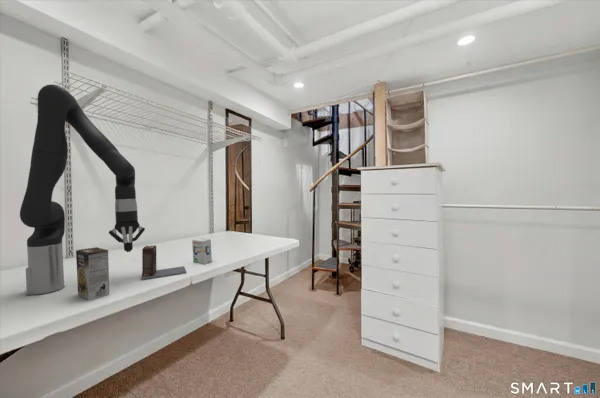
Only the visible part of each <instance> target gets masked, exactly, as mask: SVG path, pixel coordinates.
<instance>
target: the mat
mask: <svg viewBox="0 0 600 398" xmlns="http://www.w3.org/2000/svg"><path fill="white" fill-rule="evenodd" d="M184 274H187V270H186V267H185V266H183V265H182V266H177V267H170V268H164V269H163V268H162V269H156V273H155V274H154V275H153V276H148V277H142V276H141V277H140V278H141V280H140V281H146V280H147V279H148V280H152V279H153V278H154V279H159V278H167V277H171V276H179V275H184Z"/></svg>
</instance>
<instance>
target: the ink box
mask: <svg viewBox="0 0 600 398" xmlns="http://www.w3.org/2000/svg"><path fill="white" fill-rule="evenodd" d="M211 241H212V239H209V238H203V237H198V238H196V239H192V241H191V243H192V261H193V263H195V264H196V263H197V264H202V265H206V264H208V263H212V262H213V258H212V257H213V256H212V242H211Z"/></svg>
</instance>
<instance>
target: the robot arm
mask: <svg viewBox="0 0 600 398" xmlns="http://www.w3.org/2000/svg"><path fill="white" fill-rule="evenodd" d="M66 122H67V123H68V124H69V125H70V126H71V127H72V128H73V129H74V131H76V132H77V133H78V134H79V136H80V137H81V139H82V140H83V141H84V143H85V144H86V145H87V146H88V148H90V149H91V151H92V152H93V153H94V155H96V156H97V157H98V158H99V159H100V160H101V161H102V162H103V163H104V164H105V165H106V167H107V168H108V169H109V171H111V172H112V173H113V175H114V176H115V187H114V198H115V200H114V212H115V214H114V215H115V225H114V227H113V228H112V229H111V230H110V231H109V230H108V234H109V235H110V236H111V237H112V238H113V239H115V240H116V241H117V242H118V243H121V244H122V243H123V250H124V251H126V253H129V252H132V250H133V242H136V241H137V240H138V239H139V238H140V237H141V235H142V234H143V233H144V232H145V230H146V228H145V227H143V226H141V225H140V223H139V219H138V217H139V216H138V203H137V202H138V201H137V193H136V187H135V184H136V183H135V182H136V170H135V168H134V166H133V165H132V163H131V162H129V160H127V158H126V157H124V156H123V155H122V154H121V153H120V152H119V149H118V148H117V147H116V146H115V145H114V144H113V143H112V141H110V139H108V137H106V136H105V134H104V133H103V132H102V131H100V129H98V127H96V125H95V124H94V123H93V122H92V121H91V120H90V119H89V117H88V116H87V115H86V113H85V112H84V111H83V109H82V108H81V106H80V105H79V103H78V102H77V100H76V98H75V97H74V96H73V95H72V94H71V93H70V92H69V91H68V90H66V89H65V88H64V87H62V86H60V85H57V84H46V85H44V86H42V87H41V88H40V89H39V91H38V93H37V122H36V129H35V132H34V133H35V134H34V140H33V145H32V151H31V156H30V166H29V167H30V168H29V171H28V172H29V173H28V179H27V185H26V189H25V192H24V196H23V199H22V203H21V206H20V209H19V218H20V221H21V222H22V223H23V225H25V226H26V227H29V228H34V229H33V232H32V234H31V235H30V236H29V237H28V238H27V240H26V249H27V250H26V253H27V267H26V268H25V284H26V296H30V295H31V296H32V295H35V296H36V295H37V296H38V295H44V294H49V293H53V292H56V291H58V290H61V289H64V287H65V277H64V276H65V274H64V273H65V270H64V269H65V268H64V253H63V252H64V251H63V249H64V248H63V237H64V236H65V232H66V231H65V229H66V216H65V215H66V214H65V210H64V207H63V205H61V204H60V203H58V202H56V201H54V200H53V193H54V190H55V187H56V185H57V183H58V182H59V180H60V179H61V177H62V176H63V174H64V172H65V170H66V168H67V167H66V166H67V163H68V155H69V154H68V153H69V149H68V141H67V136H66ZM52 200H53V201H52ZM136 231H137V234H136V235H135V236H134V234H135V232H136ZM117 232H118V233H119V234H120V235H122V237H121V236H120V235H118V233H117ZM133 236H134V237H133Z"/></svg>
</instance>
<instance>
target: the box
mask: <svg viewBox="0 0 600 398" xmlns="http://www.w3.org/2000/svg"><path fill="white" fill-rule="evenodd" d="M141 251H142V253H141V255H142V258H141V259H142V262H141V263H142V268H141V269H142V270H141V277H148V276H153V275H154V274H155V273H156V270H157V245H145V246H143V248H142V250H141Z"/></svg>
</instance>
